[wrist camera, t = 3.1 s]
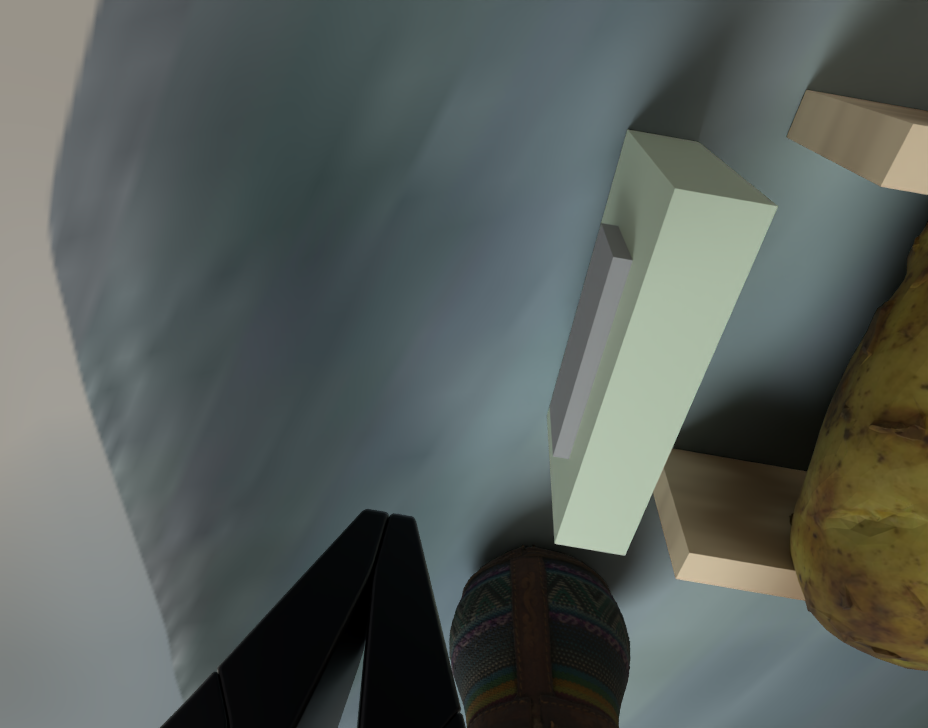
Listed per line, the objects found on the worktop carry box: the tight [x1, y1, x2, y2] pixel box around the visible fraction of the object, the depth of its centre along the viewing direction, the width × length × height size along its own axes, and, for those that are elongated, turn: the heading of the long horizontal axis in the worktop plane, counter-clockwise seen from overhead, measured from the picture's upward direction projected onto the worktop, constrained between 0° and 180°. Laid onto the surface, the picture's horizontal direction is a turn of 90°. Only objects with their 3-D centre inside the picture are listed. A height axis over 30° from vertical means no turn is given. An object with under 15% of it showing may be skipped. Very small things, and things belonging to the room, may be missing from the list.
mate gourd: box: [449, 545, 630, 728], centre depth 22 cm, size 7×8×10 cm
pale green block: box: [547, 129, 778, 556], centre depth 16 cm, size 2×10×6 cm, turn 171°
